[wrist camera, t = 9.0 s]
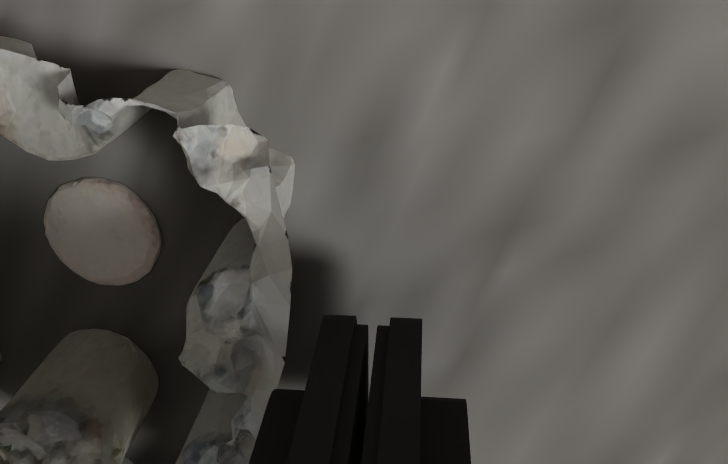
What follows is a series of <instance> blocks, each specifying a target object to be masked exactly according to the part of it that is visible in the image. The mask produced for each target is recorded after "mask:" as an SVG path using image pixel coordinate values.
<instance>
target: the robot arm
mask: <svg viewBox="0 0 728 464" xmlns="http://www.w3.org/2000/svg"><path fill="white" fill-rule="evenodd" d="M421 355H422V319H413V318H390V326H380V325H378V327H377V334H376V343H375V351H374V360H373V368H372V376H371V385H370V393H369V402H368V325H358V324H357V319H356V316H346V315H324V316H323V320H322V324H321V328H320V332H319V336H318V340H317V344H316V348H315V352H314V356H313V360H312V364H311V368H310V372H309V376H308V380H307V384H306V388H305V391H304V390H286V389H274V390H273V391H272V392H271V395H270V397H269V400H268V404H267V407H266V410H265V413H264V416H263V419H262V423H261V426H260V429H259V432H258V435H257V439H256V442H255V445H254V448H253V451H252V454H251V458H250V461H249V464H471V457H470V443H469V429H468V415H467V404H466V399H453V398H435V397H421Z"/></svg>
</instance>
